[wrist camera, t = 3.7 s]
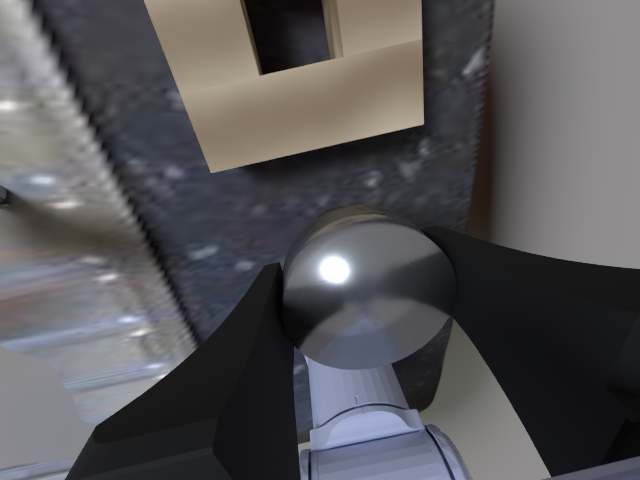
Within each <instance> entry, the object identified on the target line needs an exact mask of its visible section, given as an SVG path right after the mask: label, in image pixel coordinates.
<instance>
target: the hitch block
mask: <svg viewBox="0 0 640 480" xmlns="http://www.w3.org/2000/svg"><path fill="white" fill-rule="evenodd" d="M321 1H322V7H323V14H324V20H325V27H326V33H327V40H328V47H329V53H330V60H327V61H323V62H318V63H314V64H310V65H305V66H301V67H296V68H292V69H288V70H283V71H279V72H274V73H270V74H266V75H263V72H262V68H261V64H260V60H259V56H258V53H257V49H256V45H255V41H254V37H253V33H252V29H251V25H250V21H249V17H248V13H247V10H246V6H245V2H244V0H144V2H145V4H146V7H147V10H148V12H149V15H150V17H151V20H152V22H153V25H154V28H155V30H156V33H157V35H158V38H159V40H160V43H161V46H162V48H163V51H164V53H165V56H166V58H167V61H168V64H169V66H170V69H171V71H172V74H173V76H174V79H175V82H176V84H177V87H178V89H179V92H180V94H181V97H182V100H183V102H184V105H185V107H186V110H187V112H188V115H189V118H190V120H191V123H192V125H193V128H194V130H195V133H196V136H197V138H198V141H199V143H200V146H201V148H202V151H203V154H204V156H205V159H206V161H207V164H208V166H209V169H210V172H211V173H214V172H219V171H223V170H227V169H232V168H236V167H240V166H245V165H249V164H253V163H258V162H262V161H267V160H271V159H275V158H280V157H284V156H288V155H293V154H297V153H301V152H306V151H310V150H314V149H319V148H323V147H328V146H332V145H336V144H341V143H345V142H349V141H354V140H358V139H362V138H367V137H371V136H376V135H380V134H384V133H389V132H393V131H397V130H402V129H406V128H410V127H415V126H419V125H423V124H424V102H423V54H422V6H421V0H321Z"/></svg>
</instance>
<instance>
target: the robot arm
mask: <svg viewBox="0 0 640 480" xmlns="http://www.w3.org/2000/svg"><path fill="white" fill-rule="evenodd" d="M420 230H421V231H422V232H423V233H424V234H425V235H426V236H427V237H428V238H429V239H430V240H431V241H432V242H433V243H434V244H435V245H437V246H438V247H439V248H440V249H441V251H442V252H443V253H444V254H445V255H446V256H447V258H448V259H449V261H450V262H451V264H452V267H453V269H454V272H455V276H456V284H457V291H456V299H455V302H454V306H453V309H452V311H451V313H450V314H451V315H452V317H453V318H454V319H455V320H456V322H457V323H458V324H459V325H460V327H461V328H462V329H463V330H464V332H465V333H466V334H467V335H468V337H469V338H470V340H471V341H472V342H473V344H474V345H475V346H476V348H477V349H478V351H479V353H480V354H481V356H482V357H483V359H484V360H485V362H486V364H487V365H488V367H489V368H490V370H491V371H492V373H493V374H494V376H495V378H496V379H497V381H498V383H499V384H500V386H501V388H502V389H503V391H504V392H505V394H506V396H507V398H508V399H509V401H510V403H511V404H512V406H513V408H514V410H515V412H516V413H517V415H518V416H519V418H520V420H521V422H522V424H523V425H524V427H525V429H526V431H527V432H528V434H529V436H530V438H531V440H532V441H533V444H534V445H535V447H536V449H537V451H538V453H539V455H540V457H541V458H542V460H543V462H544V464H545V466H546V468H547V469H548V471H549V473H550V475H551V478H547V479H543V480H640V269H632V268H621V267H612V266H603V265H596V264H588V263H581V262H574V261H568V260H562V259H556V258H551V257H546V256H541V255H536V254H531V253H527V252H523V251H519V250H515V249H511V248H507V247H503V246H500V245H496V244H493V243H490V242H486V241H483V240H480V239H477V238H473V237H470V236H467V235H464V234H461V233H458V232H455V231H452V230H448V229H445V228H441V227H437V226H433V227H429V228H424V229H420ZM282 295H283V271H282V268H281V265H280V262H278V263H274V264H270V265H265V266H264V267H263V269H262V270H261V272H260V273H259V275H258V276H257V278H256V279H255V281H254V282H253V284H252V285H251V287H250V288H249V289H248V291H247V292H246V294H245V295H244V297H243V298H242V299H241V301H240V302H239V303H238V304H237V306H236V307H235V308H234V310H233V311H232V312H231V313H230V315H229V316H228V317H227V318H226V319H225V321H224V322H223V323H222V324H221V325H220V326H219V327H218V328H217V329H216V330H215V332H214V333H213V334H212V335H211V336H210V337H209V338H208V339H207V340H206V341H205V342H204V343H203V344H202V345H201V346H199V347H198V348H197V349H196V350H195V351H194V352H193V353H192V354H191V355H190V356H189V357H187V358H186V359H185V360H184V361H183V362H182V363H181V364H180V365H178V366H177V367H176V368H175V369H174V370H172V371H171V372H170V373H169V374H168V375H166V376H165V377H164V378H163V379H161V380H160V381H159V382H157V383H156V384H155V385H154V386H152V387H151V388H150V389H148V390H147V391H146V392H144V393H143V394H142V395H140V396H139V397H138V398H136V399H135V400H133V401H132V402H130V403H129V404H128V405H126V406H125V407H123V408H122V409H120V410H119V411H118V412H116V413H115V414H113V415H112V416H110V417H109V418H108V419H106V420H105V421H103V422H102V423H100V424H99V425H97V426H96V427H95V429H94V431H93V432H92V434H91V436H90V438H89V439H88V441H87V443H86V444H85V446H84V448H83V449H82V451H81V453H80V455H79V456H78V458H77V460H76V461H75V463H74V465H73V466H72V468H71V470H70V472H69V473H68V475H67V477H66V478H65V480H472V477H471V476H470V473H469V471H468V469H467V467H466V465H465V463H464V461H463V459H462V457H461V455H460V453H459V451H458V450H457V448H456V447H455V445H454V444H453V442H452V441H451V440H450V439H449V437H448V436H446V435H445V434H444V433H443V432H441V431H440V429H438V428H437V427H436V426H435V425H432V424H429V425H425V426H424V424H423V422H422V420H421V417H420V415H419V413H418V410H417V409H413V410H410V409H409V407H408V404H407V402H406V399H405V397H404V394H403V392H402V390H401V387H400V385H399V382H398V380H397V377H396V375H395V372H394V370H393V367H392V365H391V364H388V365H384V366H381V367H376V368H371V369H362V370H346V369H338V368H332V367H329V366H325V365H322V364H320V363H317V362H315V361H313V360H311V359H310V358H308V357H306V356H305V355H304V356H305V359H306V362H307V365H308V368H309V380H310V392H311V404H312V416H313V427H314V429H312V430H311V431H310V440H311V450H310V449H305V450H302V451H301V453H300V456H299V453H298V442H297V430H296V418H295V404H294V390H293V367H294V345H293V343H292V342H291V340H290V339H289V337H288V335H287V333H286V330H285V327H284V323H283V316H282Z"/></svg>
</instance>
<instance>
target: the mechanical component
mask: <svg viewBox="0 0 640 480" xmlns="http://www.w3.org/2000/svg"><path fill="white" fill-rule="evenodd" d="M5 198H6V189H4V188H3V187H1V186H0V199H5ZM8 206H10V205H8V204H4V203H0V209H2V208H5V207H8Z"/></svg>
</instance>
